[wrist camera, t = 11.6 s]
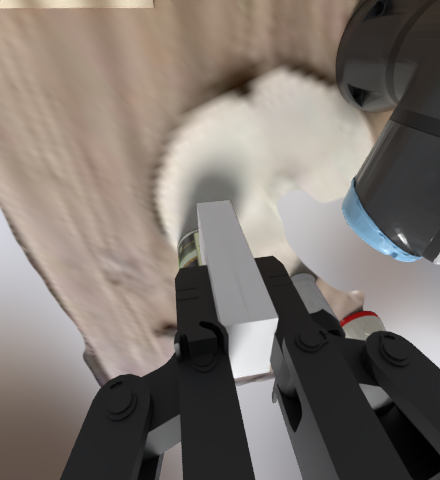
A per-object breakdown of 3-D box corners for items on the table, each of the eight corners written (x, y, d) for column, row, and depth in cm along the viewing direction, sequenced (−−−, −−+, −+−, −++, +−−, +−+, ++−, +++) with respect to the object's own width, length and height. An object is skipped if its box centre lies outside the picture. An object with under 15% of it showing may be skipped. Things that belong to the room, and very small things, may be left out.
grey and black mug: (318, 289, 69) (351, 342, 57) (266, 311, 70) (287, 367, 59) (311, 267, 64) (345, 320, 52) (255, 292, 65) (276, 349, 53)
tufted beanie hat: (342, 312, 77) (376, 363, 65) (385, 309, 79) (424, 357, 67) (327, 342, 85) (353, 392, 73) (366, 338, 87) (398, 385, 75)
